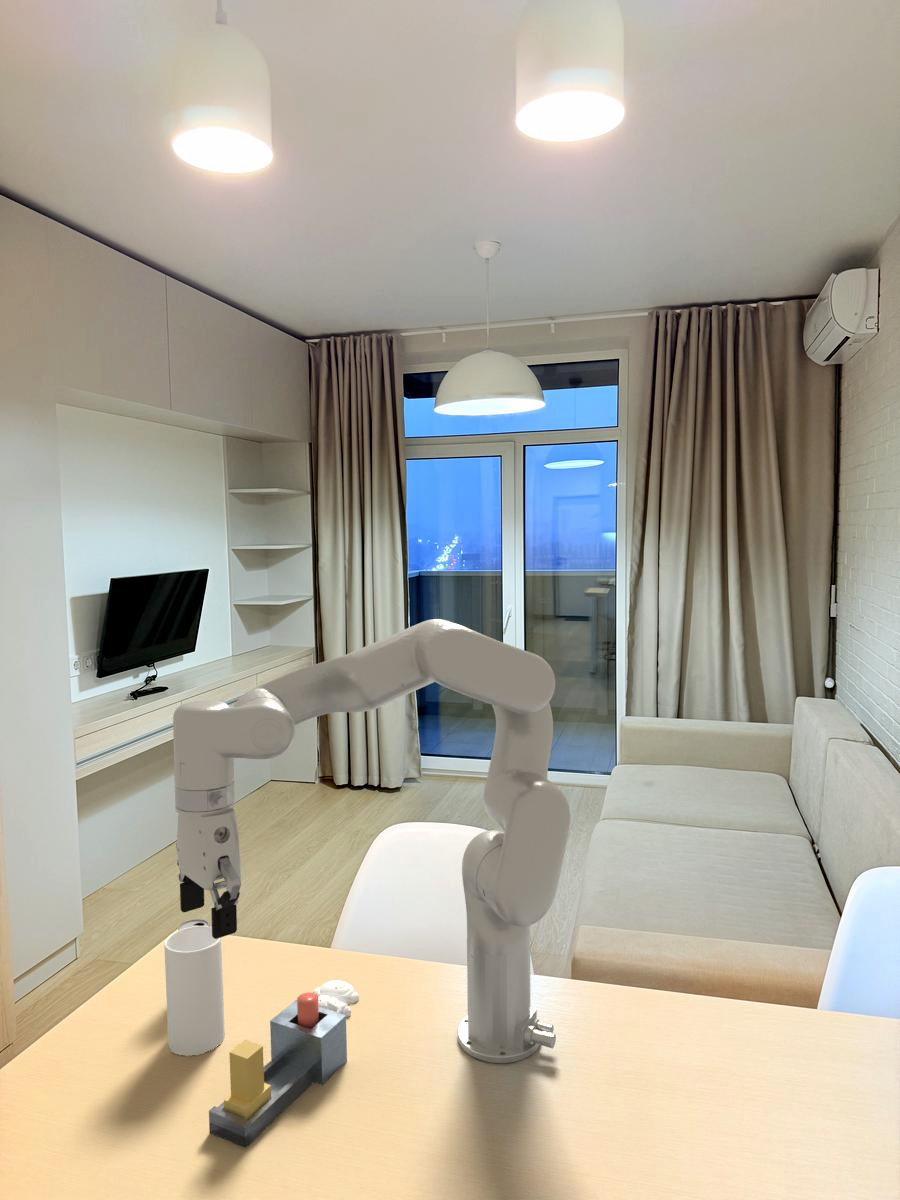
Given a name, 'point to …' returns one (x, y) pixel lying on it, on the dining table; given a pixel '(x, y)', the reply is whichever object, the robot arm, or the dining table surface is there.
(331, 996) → the astronaut figurine
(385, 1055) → the dining table surface
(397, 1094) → the dining table surface
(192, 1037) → the cup
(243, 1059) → the block
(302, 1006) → the button
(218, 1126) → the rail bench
